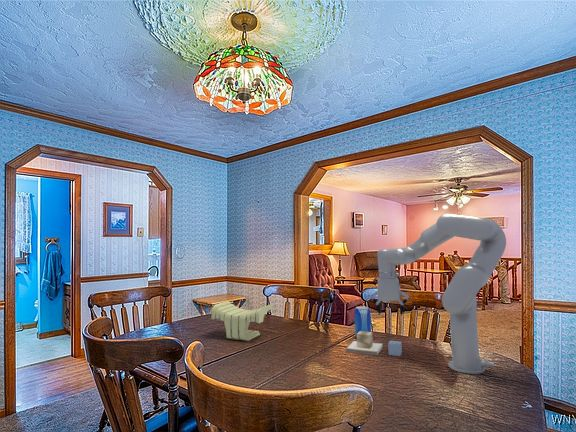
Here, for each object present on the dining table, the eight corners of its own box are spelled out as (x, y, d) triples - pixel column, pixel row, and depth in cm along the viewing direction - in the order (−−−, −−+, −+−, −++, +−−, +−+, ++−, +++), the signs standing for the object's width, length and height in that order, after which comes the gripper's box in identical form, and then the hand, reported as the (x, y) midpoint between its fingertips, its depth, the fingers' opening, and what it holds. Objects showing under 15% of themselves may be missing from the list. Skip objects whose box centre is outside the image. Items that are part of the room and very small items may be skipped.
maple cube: (372, 345, 157) (372, 332, 158) (370, 348, 152) (369, 335, 152) (360, 343, 160) (359, 331, 160) (357, 347, 154) (356, 334, 155)
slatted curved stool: (211, 338, 181) (211, 305, 183) (228, 331, 196) (228, 300, 197) (259, 343, 169) (258, 308, 171) (273, 335, 184) (272, 303, 185)
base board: (382, 346, 159) (382, 343, 159) (377, 355, 146) (376, 352, 147) (354, 343, 165) (354, 340, 165) (346, 352, 153) (346, 348, 153)
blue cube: (401, 352, 150) (401, 341, 150) (400, 356, 145) (399, 344, 146) (390, 351, 152) (390, 340, 153) (388, 354, 148) (388, 343, 148)
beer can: (373, 340, 170) (371, 308, 171) (356, 340, 170) (355, 309, 171) (369, 336, 178) (368, 305, 180) (354, 336, 178) (352, 306, 180)
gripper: (408, 274, 152) (411, 312, 150) (370, 275, 160) (373, 311, 158) (406, 276, 146) (409, 316, 144) (367, 276, 153) (370, 314, 151)
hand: (390, 313), depth 151 cm, fingers open, 9 cm apart
